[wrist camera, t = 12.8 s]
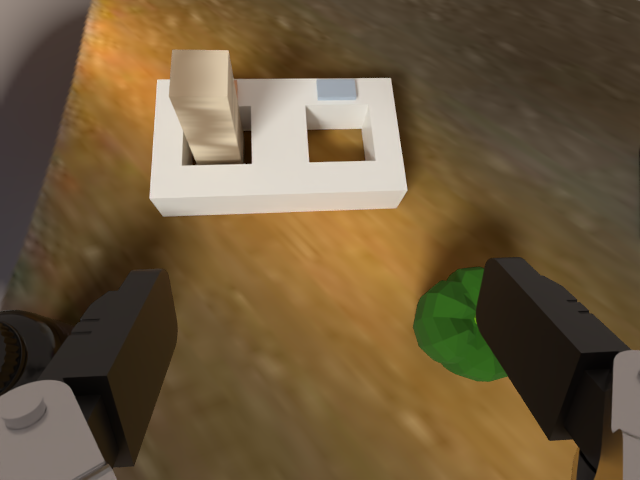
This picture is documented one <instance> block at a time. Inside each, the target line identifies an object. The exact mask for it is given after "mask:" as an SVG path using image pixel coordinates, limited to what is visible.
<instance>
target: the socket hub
mask: <svg viewBox="0 0 640 480" xmlns="http://www.w3.org/2000/svg"><path fill="white" fill-rule="evenodd" d="M234 84H235V89H236V95H237V101H238V106H239V112H240V117H241V123H242V129H243V131H251V136H252V164H229V165H192V160H193V153H192V151H191V149H190V146H189V144H188V141H187V139H186V137H185V134H184V132H183V129H182V127H181V125H180V122H179V120H178V117H177V115H176V112H175V110H174V108H173V105H172V103H171V100H170V98H169V86H170V80H157V93H156V109H155V124H154V139H153V155H152V170H151V185H150V200H151V201H152V202H153V204H154V205H155V206H156V208H157V209H158V210H159V212H160V213H161V214H162V216H163V217H164V216H192V215H220V214H247V213H275V212H303V211H331V210H358V209H386V208H397V206H398V205H399V203H400V202H401V200H402V198H403V197H404V195H405V193H406V192H407V184H406V177H405V170H404V163H403V157H402V150H401V143H400V137H399V130H398V123H397V116H396V110H395V103H394V96H393V89H392V83H391V78H319V79H234ZM316 129H362V136H363V144H364V153H365V161H347V162H309V153H308V139H307V130H316Z"/></svg>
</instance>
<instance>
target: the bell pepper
mask: <svg viewBox="0 0 640 480" xmlns="http://www.w3.org/2000/svg"><path fill="white" fill-rule="evenodd" d="M483 272H484V268H482V267H472V268H463V269H458V270H456V271H455V272H454V273H452V274H451V275H450V276H449V277H448V279H447V281H443V280H441V281H440V282H439V283H437V284H436V285H435V286H433V287H432V288H431V289H430V290H429V291H428V292H427V293H425V294H424V295H423V296H422V297H421V298H420V300H419V302H418V305H417V309H416V314H415V319H414V324H413V329H414V332H415V335H416V338H417V342H418V345H419V347H420V348H421V349H422V350H423V351H424V352H425V353H426V354H427V355H428V356H430V357H431V358H432V359H433V360H435V361H437V362H439V363H442V365H443V366H444V367H445V368H446V369H448V370H449V371H451V372H453V373H455V374H457V375H460V376H463V377H466V378H469V379H472V380H475V381H486V382H490V381H493V380H496V379H500V378H503V377H507V374H506V372H505V371H504V369H503V368H502V366H501V365H500V363H499V362H498V360H497V358H496V357H495V355H494V354H493V352H492V351H491V349H490V348H489V346H488V344H487V343H486V341H485V340H484V338H483V337H482V335H481V333H480V332H479V329H478V326H477V322H476V306H477V301H478V297H479V292H480V287H481V282H482V277H483Z"/></svg>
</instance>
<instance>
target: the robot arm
mask: <svg viewBox="0 0 640 480" xmlns="http://www.w3.org/2000/svg"><path fill="white" fill-rule="evenodd" d="M476 322H477V326H478V329H479V332H480V333H481V335H482V337H483V338H484V340H485V341H486V343H487V344H488V346H489V348H490V349H491V351H492V352H493V354H494V355H495V357H496V358H497V360H498V362H499V363H500V365H501V366H502V368H503V369H504V371H505V372H506V374H507V376H508V377H509V379H510V380H511V382H512V383H513V385H514V387H515V388H516V390H517V391H518V393H519V394H520V396H521V397H522V399H523V401H524V402H525V404H526V405H527V407H528V408H529V410H530V411H531V413H532V415H533V416H534V418H535V419H536V421H537V422H538V424H539V425H540V427H541V429H542V430H543V432H544V433H545V435H546V436H547V438H548V440H549V441H554V440H569V439H573V440H574V441H575V443H576V444H577V446H578V448H577V450H576V453H575V455H574V459H573V467H572V475H571V480H640V351H639V350H631V349H630V348H629V347H628V346H627V345H625V344H624V343H623V342H622V341H621V340H620V339H619V338H618V337H617V336H616V335H615V334H614V333H613V332H611V331H610V330H609V329H608V328H607V327H606V326H605V325H604V324H603V323H602V322H601V321H600V320H599V319H597V318H596V317H595V316H594V315H593V314H592V313H591V314H589V310H588V309H587V308H586V307H584V306H583V305H582V304H581V303H580V302H577V299H576V298H575V297H574V296H573V295H572V294H570V293H569V292H568V291H567V290H566V289H565V288H564V287H563V286H561V285H559V284H557V283H556V282H554V281H552V280H550V279H548V278H546V277H545V276H541V275H540V274H539V273H538V272H537V271H536V270H535V269H533V268H532V267H531V266H530V265H529V264H528V263H527V262H526V261H525V260H524V259H523V258H521V257H510V258H490V259H489V260H488V261H487V262H486V264H485V268H484V272H483V277H482V282H481V287H480V292H479V297H478V301H477V306H476ZM177 332H178V327H177V318H176V313H175V307H174V302H173V296H172V291H171V286H170V280H169V276H168V273H167V271H166V270H165V269H142V270H132V271H131V272H130V273H129V274H128V276H127V278H126V279H125V281H124V282H123V284H122V285H121V287H120V288H119V290H118V291H108V292H107V293H106V294H104V295H103V296H101V297H100V298H99V299H97V300H96V301H95V302H93V303H92V304H91V305H90V306H89V307H88V309H87V310H86V312H85V313H84V314H83V316H82V317H81V319H80V322H79V323H77V324H76V326H75V327H74V329H73V330H72V331H71V336H68V337H67V339H66V340H65V341H64V343H63V344H62V346H61V347H60V348H59V350H58V351H57V353H56V354H55V355H54V357H53V358H52V360H51V361H50V363H49V364H48V365H47V367H46V368H45V370H44V371H43V372H42V374H41V375H40V377H39V378H38V380H37V381H36V382H31V383H28V384H25V385H22V386H19V387H17V388H15V389H13V390H10V391H9V392H7V393H5V394H3V395H2V396H0V480H117V479H116V477H115V475H114V472H113V470H112V469H113V467H128V466H134V465H135V462H136V459H137V456H138V453H139V450H140V447H141V445H142V442H143V439H144V436H145V433H146V430H147V427H148V424H149V421H150V419H151V416H152V413H153V410H154V407H155V404H156V401H157V398H158V395H159V393H160V390H161V387H162V384H163V381H164V378H165V375H166V372H167V369H168V367H169V364H170V361H171V358H172V355H173V352H174V349H175V346H176V342H177Z"/></svg>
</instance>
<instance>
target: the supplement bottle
mask: <svg viewBox="0 0 640 480" xmlns="http://www.w3.org/2000/svg"><path fill="white" fill-rule="evenodd" d="M74 327H75V326H74V325H71V324H67V323H64V322H61V321H58V320H54V319H51V318H48V317H45V316H41V315H38V314H35V313H31V312H26V311H21V310H6V311H0V396H2V395H3V394H5V393H7V392H9V391H10V390H13V389H15V388H17V387H19V386H22V385H25V384H28V383H31V382H36V381H37V380H38V378H39V377H40V375H41V374H42V372H43V371H44V370H45V368H46V367H47V365H48V364H49V363H50V361H51V360H52V358H53V357H54V355H55V354H56V353H57V351H58V350H59V348H60V347H61V346H62V344H63V343H64V341H65V340H66V339H67V337H68V336H71V331H72V330H73V329H74Z"/></svg>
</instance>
